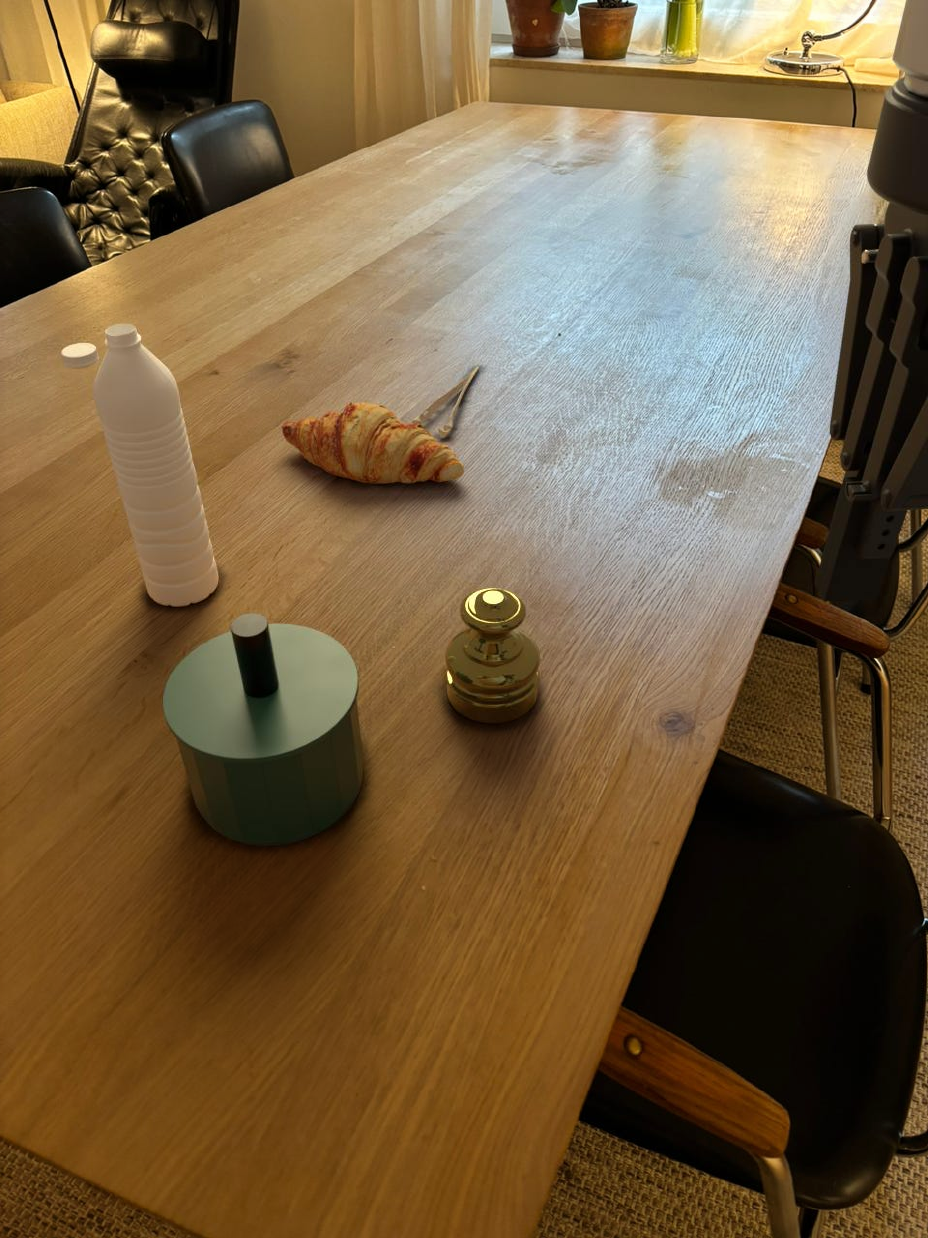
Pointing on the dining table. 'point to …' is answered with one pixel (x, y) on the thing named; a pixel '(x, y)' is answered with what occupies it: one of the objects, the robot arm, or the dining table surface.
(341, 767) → the pot
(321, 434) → the croissant
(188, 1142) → the dining table surface
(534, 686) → the brass calibration weight
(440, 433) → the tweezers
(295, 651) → the pot lid
